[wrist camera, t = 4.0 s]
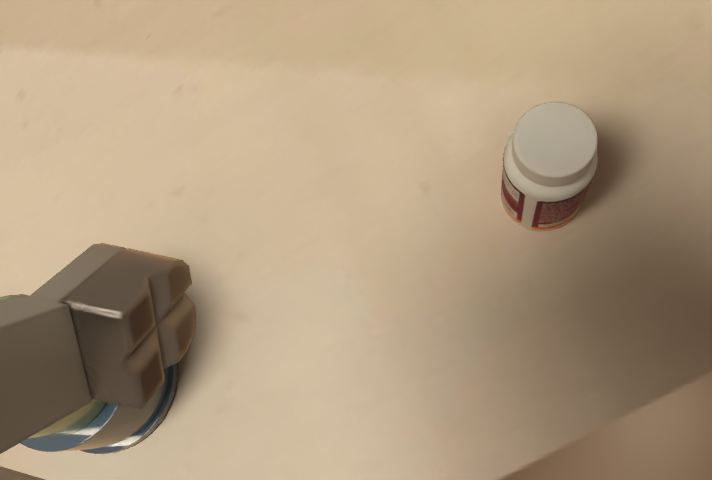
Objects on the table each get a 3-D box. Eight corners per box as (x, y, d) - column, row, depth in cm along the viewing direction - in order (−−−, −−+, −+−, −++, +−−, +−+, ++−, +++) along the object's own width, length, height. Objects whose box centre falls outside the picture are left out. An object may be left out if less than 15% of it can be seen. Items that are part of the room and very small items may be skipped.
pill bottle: (592, 172, 40) (621, 110, 32) (565, 244, 39) (586, 198, 31) (516, 147, 41) (526, 81, 34) (488, 215, 41) (490, 165, 33)
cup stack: (193, 423, 40) (106, 423, 31) (60, 474, 41) (-66, 489, 32) (158, 287, 43) (68, 248, 34) (33, 336, 44) (-90, 312, 34)
